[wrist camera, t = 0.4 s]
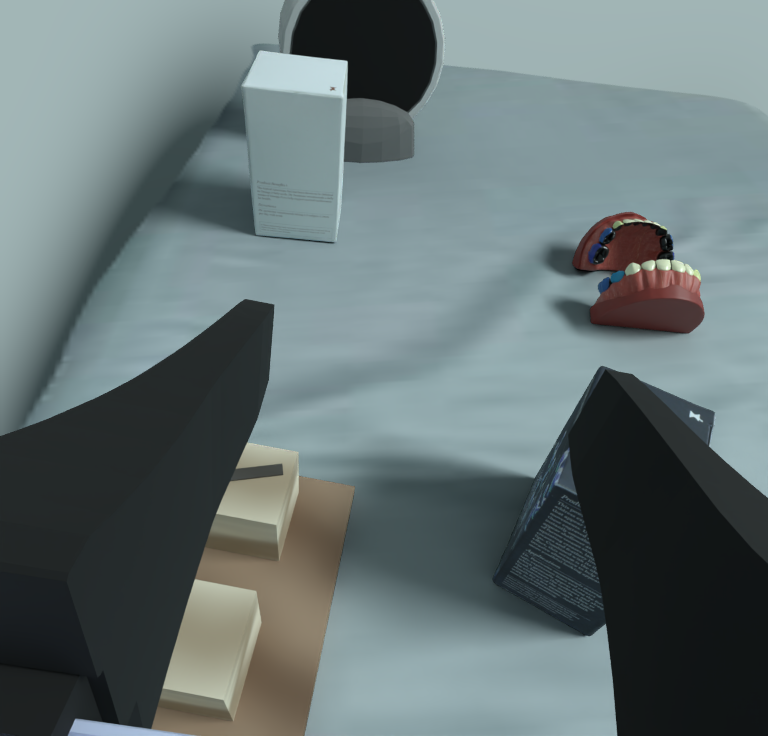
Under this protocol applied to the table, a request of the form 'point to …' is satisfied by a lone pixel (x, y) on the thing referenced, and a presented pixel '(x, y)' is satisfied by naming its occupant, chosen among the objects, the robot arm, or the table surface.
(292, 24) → the alarm clock
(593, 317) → the teeth model
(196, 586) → the plain block
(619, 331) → the table surface
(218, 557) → the walnut board
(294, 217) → the supplement box
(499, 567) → the box
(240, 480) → the letter t cube
